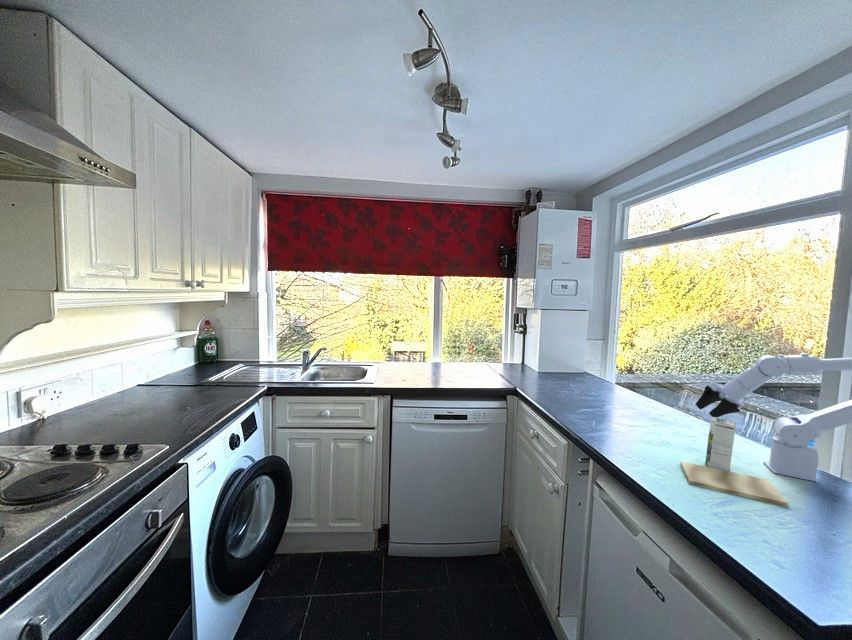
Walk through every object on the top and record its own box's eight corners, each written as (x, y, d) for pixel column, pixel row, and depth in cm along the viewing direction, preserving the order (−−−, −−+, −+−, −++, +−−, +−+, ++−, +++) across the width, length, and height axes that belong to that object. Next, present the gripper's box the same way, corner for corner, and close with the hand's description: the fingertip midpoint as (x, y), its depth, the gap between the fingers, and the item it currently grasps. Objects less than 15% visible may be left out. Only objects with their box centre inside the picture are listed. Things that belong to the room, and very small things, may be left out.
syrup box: (705, 460, 112) (710, 415, 111) (729, 466, 108) (735, 420, 107) (704, 466, 108) (710, 420, 106) (730, 473, 104) (736, 425, 103)
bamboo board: (766, 482, 99) (767, 479, 99) (787, 506, 88) (788, 503, 88) (680, 464, 108) (680, 461, 108) (689, 483, 97) (689, 480, 97)
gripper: (745, 386, 117) (709, 411, 123) (719, 367, 113) (683, 394, 119) (763, 401, 111) (724, 426, 117) (736, 381, 107) (697, 409, 113)
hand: (704, 411), depth 117 cm, fingers open, 7 cm apart
